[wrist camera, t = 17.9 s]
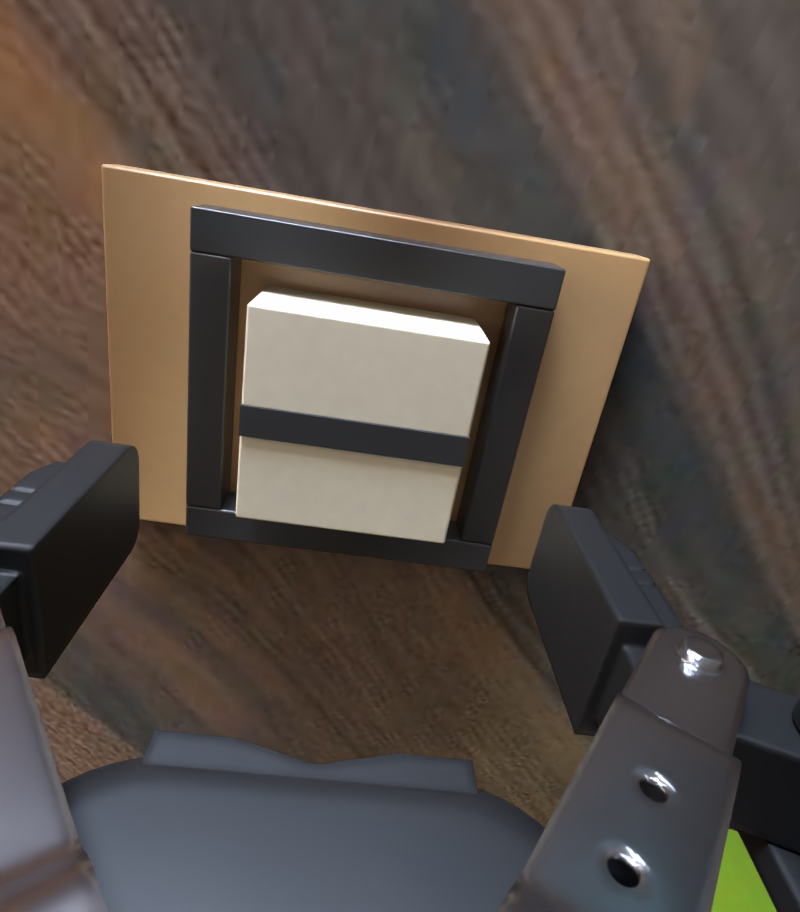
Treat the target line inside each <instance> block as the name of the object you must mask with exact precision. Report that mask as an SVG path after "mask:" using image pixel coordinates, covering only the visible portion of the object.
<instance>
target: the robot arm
mask: <svg viewBox="0 0 800 912" xmlns="http://www.w3.org/2000/svg"><path fill="white" fill-rule="evenodd" d="M139 522H140V501H139V456H138V451H137V449H136V447H135V446H131V445H123V444H116V443H109V442H101V441H94V440H92V441H90V442H88V443H87V444H86V445H85V446H84V447H83V448H82V449H81V450H79V451H78V452H77V453H76V454H75V455H74V456H73V457H72V458H70V459H69V460H68V461H67V462H66V463H64V462H55V463H53V464H50V465H48V466H45V467H43V468H40V469H38V470H35V471H33V472H31V473H29V474H28V475H27V476H26V477H24V478H23V479H22V480H21V481H19V482H18V483H17V484H16V485H15V486H13V487H12V491H11V490H9V491H7V492H6V493H5V494H4V495H3V496H1V497H0V912H711V910H712V905H713V900H714V895H715V891H716V886H717V881H718V877H719V872H720V867H721V862H722V858H723V853H724V848H725V843H726V839H727V834H728V829H729V826H731V827H733V828H736V829H737V831H738V833H739V835H740V837H741V839H742V841H743V843H744V845H745V847H746V849H747V852H748V854H749V856H750V858H751V860H752V862H753V864H754V866H755V868H756V870H757V872H758V874H759V876H760V878H761V880H762V882H763V884H764V886H765V888H766V890H767V892H768V894H769V897H770V899H771V901H772V903H773V905H774V907H775V909H776V911H777V912H800V697H797V696H794V695H791V694H788V693H785V692H782V691H779V690H776V689H773V688H770V687H767V686H764V685H761V684H758V683H755V682H752V681H750V678H749V674H748V671H747V669H746V667H745V666H744V664H743V663H742V661H741V660H740V659H739V658H738V657H737V656H736V655H735V654H734V653H733V652H732V651H731V650H729V649H728V648H727V647H726V646H724V645H723V644H721V643H720V642H718V641H716V640H715V639H713V638H711V637H709V636H707V635H705V634H703V633H700V632H698V631H695V630H692V629H688V628H685V627H684V626H683V624H682V623H681V621H680V620H679V618H678V617H677V615H676V614H675V612H674V611H673V609H672V608H671V606H670V605H669V603H668V602H667V600H666V599H665V597H664V596H663V595H662V593H661V592H660V590H659V589H658V587H655V583H654V581H653V580H652V578H651V577H650V575H649V574H648V573H645V570H646V569H645V568H644V566H643V565H642V563H641V562H640V560H639V559H638V557H637V556H636V554H635V553H634V552H633V551H632V550H630V549H629V548H628V547H627V546H625V545H624V544H623V543H622V542H620V541H619V540H618V539H617V538H615V537H614V536H608V534H607V533H606V531H605V530H604V528H603V526H602V525H601V523H600V522H599V520H598V519H597V517H596V515H595V514H594V512H593V511H592V510H591V509H586V508H579V507H571V506H564V505H557V504H553V505H551V506H550V508H549V509H548V511H547V513H546V516H545V519H544V523H543V526H542V529H541V532H540V536H539V539H538V542H537V546H536V549H535V552H534V555H533V559H532V562H531V565H530V569H529V573H528V581H527V593H528V599H529V603H530V606H531V608H532V611H533V614H534V617H535V620H536V623H537V626H538V629H539V632H540V634H541V637H542V640H543V643H544V646H545V649H546V652H547V655H548V658H549V660H550V663H551V666H552V669H553V672H554V675H555V678H556V681H557V683H558V686H559V689H560V692H561V695H562V698H563V701H564V704H565V707H566V709H567V712H568V715H569V718H570V721H571V724H572V727H573V730H574V733H575V734H579V735H588V736H594V738H593V740H592V742H591V744H590V746H589V748H588V749H587V751H586V753H585V755H584V757H583V759H582V761H581V762H580V764H579V766H578V768H577V770H576V772H575V774H574V775H573V777H572V779H571V781H570V783H569V785H568V787H567V789H566V790H565V792H564V794H563V796H562V798H561V800H560V802H559V803H558V805H557V807H556V809H555V811H554V813H553V815H552V816H551V818H550V820H549V822H548V824H547V826H546V828H544V827H543V826H542V825H541V824H540V823H538V822H537V821H536V820H534V819H533V818H532V817H530V816H529V815H528V814H526V813H525V812H524V811H522V810H521V809H519V808H517V807H516V806H514V805H512V804H511V803H509V802H507V801H506V800H504V799H502V798H500V797H497V796H495V795H493V794H491V793H489V792H487V791H484V790H481V789H479V788H477V786H476V780H475V773H474V767H473V761H472V760H462V759H451V758H441V757H430V756H420V755H409V754H399V753H396V754H389V755H382V756H375V757H368V758H360V759H353V760H346V761H339V762H332V763H325V764H314V763H309V762H306V761H303V760H300V759H297V758H294V757H291V756H288V755H285V754H282V753H279V752H276V751H273V750H270V749H267V748H264V747H261V746H258V745H255V744H252V743H249V742H246V741H243V740H240V739H237V738H231V737H221V736H210V735H200V734H189V733H179V732H168V731H158V730H155V731H154V733H153V736H152V738H151V741H150V743H149V746H148V748H147V750H146V753H145V755H144V757H142V758H135V759H130V760H125V761H121V762H117V763H113V764H109V765H106V766H103V767H100V768H97V769H94V770H91V771H88V772H86V773H84V774H81V775H79V776H77V777H75V778H72V779H70V780H68V781H66V782H64V783H61V780H60V777H59V773H58V770H57V767H56V764H55V761H54V757H53V754H52V751H51V748H50V745H49V741H48V738H47V735H46V732H45V729H44V725H43V722H42V719H41V716H40V712H39V709H38V706H37V703H36V700H35V696H34V693H33V690H32V687H31V684H30V680H29V677H34V678H44V679H45V677H46V676H47V674H48V673H49V672H50V670H51V669H52V667H53V666H54V664H55V663H56V661H57V660H58V658H59V657H60V655H61V654H62V652H63V651H64V649H65V648H66V647H67V645H68V644H69V642H70V641H71V639H72V638H73V636H74V635H75V633H76V632H77V630H78V629H79V627H80V626H81V624H82V623H83V622H84V620H85V619H86V617H87V616H88V614H89V613H90V611H91V610H92V608H93V607H94V605H95V604H96V602H97V601H98V599H99V598H100V597H101V595H102V594H103V592H104V591H105V589H106V588H107V586H108V585H109V583H110V582H111V580H112V579H113V577H114V576H115V574H116V573H117V572H118V570H119V569H120V567H121V566H122V564H123V563H124V561H125V560H126V558H127V557H128V555H129V554H130V552H131V551H132V549H133V547H134V544H135V542H136V539H137V535H138V530H139Z"/></svg>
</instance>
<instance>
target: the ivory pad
mask: <svg viewBox="0 0 800 912" xmlns="http://www.w3.org/2000/svg"><path fill="white" fill-rule="evenodd" d="M489 347H490V342H489V340H488V339H487V337H486V335H485V334H484V332H483V330H482V329H481V327H480V325H479V324H478V322H477V320H476V319H475V318H470V317H464V316H458V315H451V314H445V313H439V312H433V311H427V310H420V309H414V308H408V307H402V306H395V305H389V304H383V303H377V302H371V301H364V300H358V299H352V298H346V297H340V296H333V295H327V294H321V293H315V292H308V291H302V290H296V289H290V288H284V287H277V286H271V285H269V286H267V287H266V288H265V289H264V290H263V291H262V292H261V293H260V294H259V295H257V296H256V297H255V298H254V299H253V300H252V301H251V302H250V303H249V304H248V305H247V317H246V335H245V353H244V371H243V389H242V404H241V405H240V418H239V436H240V442H239V460H238V478H237V496H236V516H237V517H241V518H249V519H256V520H264V521H272V522H280V523H287V524H295V525H303V526H311V527H319V528H326V529H334V530H342V531H350V532H357V533H365V534H373V535H381V536H388V537H396V538H404V539H412V540H419V541H427V542H435V543H444V542H445V540H446V535H447V531H448V526H449V522H450V518H451V513H452V509H453V505H454V500H455V496H456V491H457V487H458V483H459V478H460V474H461V469H462V467H464V462H465V458H466V454H467V449H468V445H469V441H470V437H469V434H470V430H471V426H472V421H473V417H474V412H475V408H476V404H477V399H478V395H479V391H480V386H481V382H482V377H483V373H484V369H485V364H486V360H487V356H488V351H489Z"/></svg>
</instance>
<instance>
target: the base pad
mask: <svg viewBox="0 0 800 912" xmlns="http://www.w3.org/2000/svg"><path fill="white" fill-rule="evenodd" d="M101 171H102V196H103V221H104V246H105V271H106V295H107V320H108V345H109V370H110V395H111V420H112V443H116V444H123V445H131V446H135V447H136V449H137V451H138V456H139V501H140V520H147V521H155V522H163V523H171V524H179V525H186V534H189V535H197V536H205V537H213V538H221V539H228V540H236V541H244V542H252V543H260V544H268V545H276V546H284V547H292V548H300V549H308V550H316V551H324V552H332V553H340V554H348V555H356V556H364V557H372V558H379V559H387V560H395V561H403V562H411V563H419V564H427V565H435V566H443V567H451V568H459V569H467V570H475V571H485V570H486V567H487V564H494V565H501V566H509V567H517V568H525V569H530V565H531V562H532V559H533V555H534V552H535V549H536V546H537V542H538V539H539V536H540V532H541V529H542V526H543V523H544V519H545V516H546V513H547V511H548V509H549V508H550V506H551V505H553V504H557V505H564V506H572V503H573V500H574V497H575V494H576V491H577V488H578V485H579V482H580V478H581V475H582V472H583V469H584V466H585V463H586V460H587V457H588V454H589V450H590V447H591V444H592V441H593V438H594V435H595V432H596V429H597V426H598V423H599V419H600V416H601V413H602V410H603V407H604V404H605V401H606V398H607V395H608V392H609V388H610V385H611V382H612V379H613V376H614V373H615V370H616V367H617V364H618V361H619V357H620V354H621V351H622V348H623V345H624V342H625V339H626V336H627V333H628V330H629V326H630V323H631V320H632V317H633V314H634V311H635V308H636V305H637V302H638V299H639V295H640V292H641V289H642V286H643V283H644V280H645V277H646V274H647V271H648V268H649V264H650V259H648V258H645V257H642V256H639V255H636V254H630V253H624V252H618V251H613V250H607V249H601V248H595V247H590V246H584V245H578V244H572V243H567V242H561V241H555V240H549V239H544V238H538V237H532V236H526V235H521V234H515V233H509V232H503V231H498V230H492V229H486V228H480V227H475V226H469V225H463V224H457V223H452V222H446V221H440V220H434V219H429V218H423V217H417V216H411V215H406V214H400V213H394V212H389V211H383V210H377V209H371V208H366V207H360V206H354V205H348V204H343V203H337V202H331V201H325V200H320V199H314V198H308V197H302V196H297V195H291V194H285V193H279V192H274V191H268V190H262V189H256V188H251V187H245V186H239V185H233V184H228V183H222V182H216V181H210V180H205V179H199V178H193V177H187V176H182V175H176V174H170V173H164V172H159V171H153V170H147V169H141V168H136V167H130V166H124V165H118V164H103V165H102V167H101ZM269 285H271V286H277V287H284V288H290V289H296V290H302V291H308V292H315V293H321V294H327V295H333V296H340V297H346V298H352V299H358V300H364V301H371V302H377V303H383V304H389V305H395V306H402V307H408V308H414V309H420V310H427V311H433V312H439V313H445V314H451V315H458V316H464V317H470V318H475V319H476V320H477V322H478V324H479V325H480V327H481V329H482V330H483V332H484V334H485V335H486V337H487V339H488V340H489V342H490V347H489V351H488V356H487V360H486V364H485V369H484V373H483V377H482V382H481V386H480V391H479V395H478V399H477V404H476V408H475V412H474V417H473V421H472V426H471V430H470V434H469V437H470V441H469V445H468V449H467V454H466V458H465V462H464V467H462V469H461V474H460V478H459V483H458V487H457V491H456V496H455V500H454V505H453V509H452V513H451V518H450V522H449V526H448V531H447V535H446V540H445V542H444V543H435V542H427V541H419V540H412V539H404V538H396V537H388V536H381V535H373V534H365V533H357V532H350V531H342V530H334V529H326V528H319V527H311V526H303V525H295V524H287V523H280V522H272V521H264V520H256V519H249V518H241V517H237V516H236V496H237V478H238V460H239V442H240V436H239V418H240V405H241V404H242V389H243V371H244V353H245V335H246V317H247V305H248V304H249V303H250V302H251V301H252V300H253V299H254V298H255V297H256V296H257V295H259V294H260V293H261V292H262V291H263V290H264V289H265V288H266V287H267V286H269Z"/></svg>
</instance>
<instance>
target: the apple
mask: <svg viewBox="0 0 800 912" xmlns="http://www.w3.org/2000/svg"><path fill="white" fill-rule="evenodd" d="M711 912H777V911H776V909H775V907H774V905H773V903H772V901H771V899H770V897H769V894H768V892H767V890H766V888H765V886H764V884H763V882H762V880H761V878H760V876H759V874H758V872H757V870H756V868H755V866H754V864H753V862H752V860H751V858H750V856H749V854H748V852H747V849H746V847H745V845H744V843H743V841H742V839H741V837H740V835H739V833H738V832H737V831H735V830H732V829H728V834H727V839H726V843H725V848H724V853H723V858H722V862H721V867H720V872H719V877H718V881H717V886H716V891H715V895H714V900H713V905H712V910H711Z"/></svg>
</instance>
